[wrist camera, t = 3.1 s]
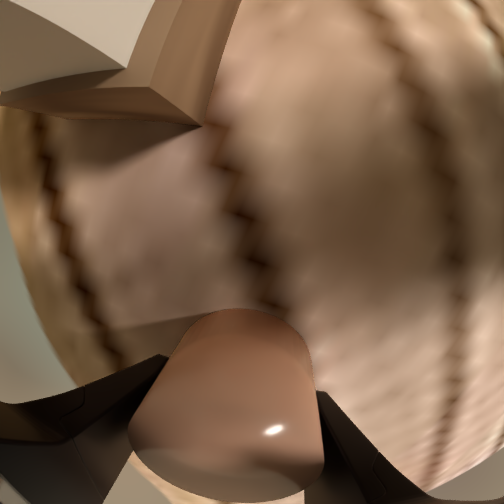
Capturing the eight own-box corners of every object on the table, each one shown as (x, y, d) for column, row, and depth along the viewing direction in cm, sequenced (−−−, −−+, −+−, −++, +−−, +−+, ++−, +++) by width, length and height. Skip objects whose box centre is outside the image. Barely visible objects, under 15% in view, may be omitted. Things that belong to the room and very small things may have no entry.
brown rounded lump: (329, 325, 9) (359, 421, 5) (289, 422, 10) (288, 509, 6) (185, 292, 9) (119, 368, 5) (175, 395, 10) (135, 475, 6)
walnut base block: (245, -8, 7) (228, -78, 3) (204, 127, 8) (148, 86, 4) (115, 3, 7) (68, -38, 3) (69, 119, 8) (-3, 105, 4)
